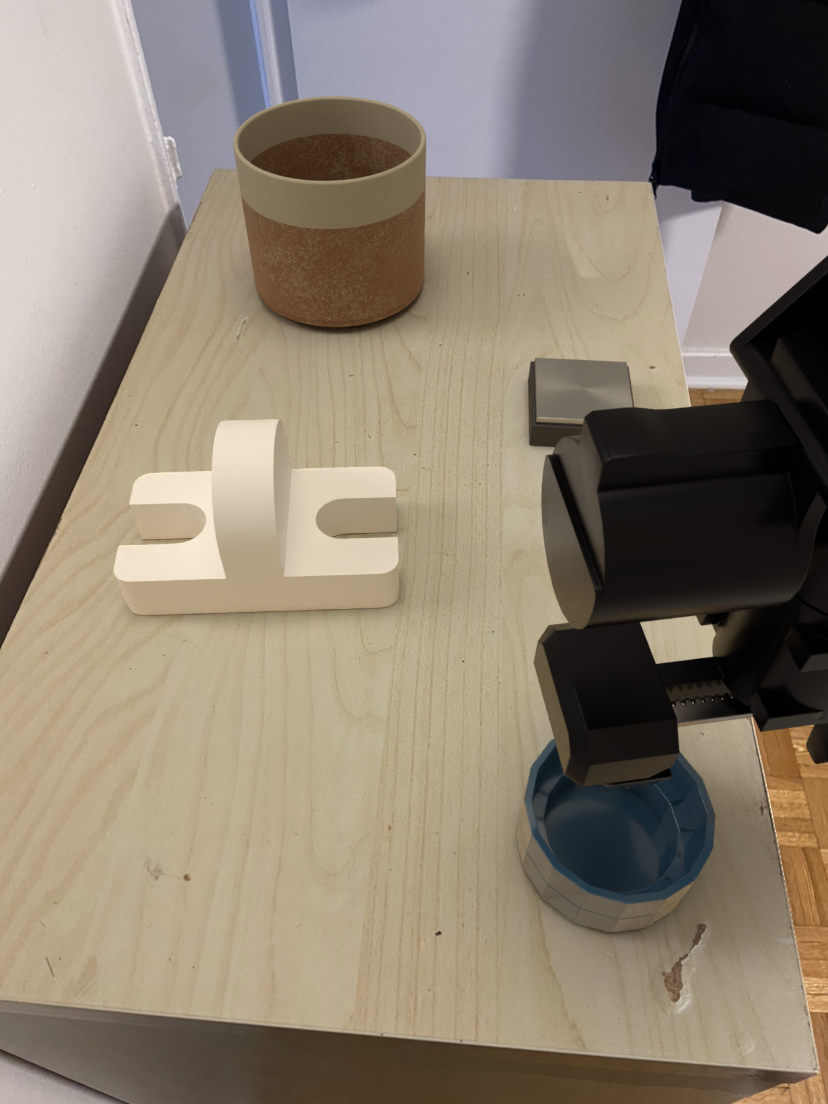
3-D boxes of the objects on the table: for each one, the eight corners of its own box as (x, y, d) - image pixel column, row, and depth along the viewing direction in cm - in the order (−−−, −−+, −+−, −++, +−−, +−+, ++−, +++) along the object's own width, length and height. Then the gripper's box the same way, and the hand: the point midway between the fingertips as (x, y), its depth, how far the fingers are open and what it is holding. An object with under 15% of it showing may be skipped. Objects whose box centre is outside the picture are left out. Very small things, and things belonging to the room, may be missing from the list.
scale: (624, 384, 70) (630, 359, 68) (632, 450, 65) (639, 425, 63) (527, 380, 71) (531, 354, 69) (529, 445, 66) (532, 420, 64)
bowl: (694, 788, 47) (719, 747, 44) (682, 957, 42) (709, 927, 38) (533, 747, 49) (543, 704, 45) (500, 905, 43) (509, 871, 40)
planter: (433, 328, 75) (437, 177, 65) (254, 339, 74) (228, 187, 64) (415, 235, 85) (416, 91, 75) (257, 243, 84) (236, 98, 74)
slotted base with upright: (399, 607, 56) (397, 493, 47) (124, 615, 55) (73, 502, 47) (395, 501, 62) (393, 384, 53) (148, 508, 61) (107, 391, 53)
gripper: (976, 379, 34) (829, 608, 46) (522, 424, 32) (493, 649, 44) (1174, 599, 27) (939, 801, 39) (606, 671, 25) (545, 859, 37)
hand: (721, 767), depth 40 cm, fingers open, 9 cm apart
